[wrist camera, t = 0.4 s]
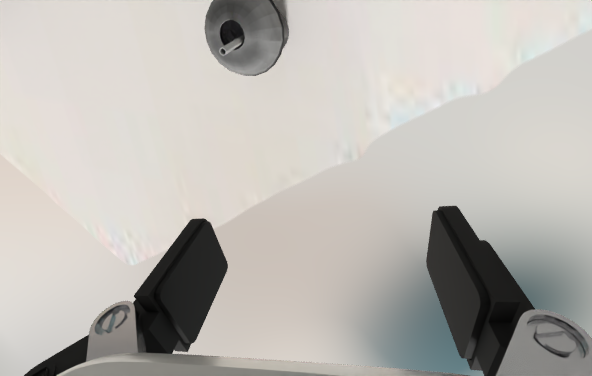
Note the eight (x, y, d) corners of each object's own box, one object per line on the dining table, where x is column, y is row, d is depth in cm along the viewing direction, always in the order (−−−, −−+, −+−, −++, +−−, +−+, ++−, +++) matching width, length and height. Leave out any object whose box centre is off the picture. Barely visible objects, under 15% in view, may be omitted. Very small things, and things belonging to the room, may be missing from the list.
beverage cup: (269, -18, 31) (191, -70, 14) (311, 31, 33) (285, 36, 17) (233, 32, 35) (136, 37, 18) (273, 74, 37) (220, 115, 20)
